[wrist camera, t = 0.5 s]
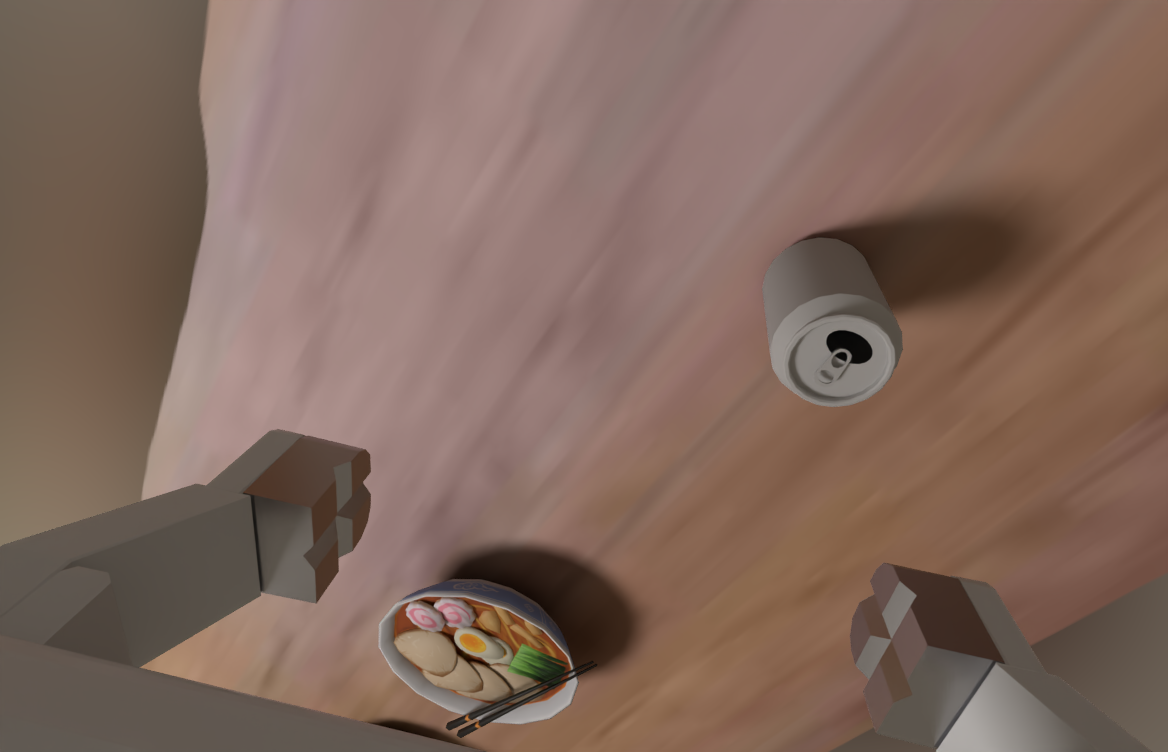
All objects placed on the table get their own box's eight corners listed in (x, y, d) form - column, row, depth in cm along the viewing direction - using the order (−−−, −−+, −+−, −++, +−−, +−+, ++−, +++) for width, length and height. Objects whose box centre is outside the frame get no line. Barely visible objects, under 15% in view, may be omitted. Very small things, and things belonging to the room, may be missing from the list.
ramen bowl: (490, 504, 65) (462, 565, 58) (638, 627, 71) (629, 695, 64) (365, 591, 77) (331, 649, 70) (501, 689, 83) (481, 752, 77)
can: (892, 268, 44) (941, 351, 34) (821, 344, 49) (846, 437, 39) (806, 213, 44) (830, 281, 34) (741, 295, 48) (745, 377, 38)
